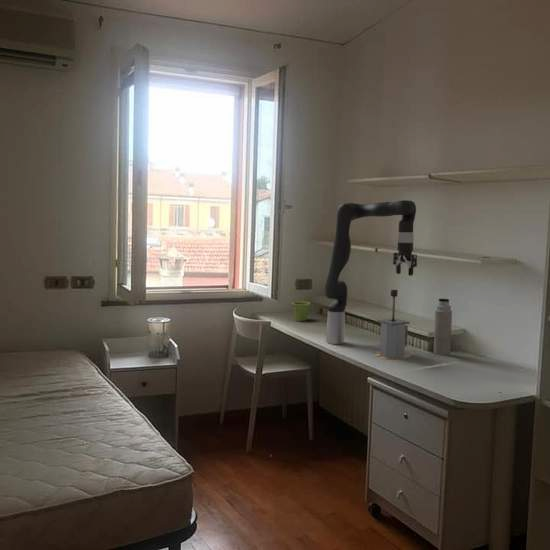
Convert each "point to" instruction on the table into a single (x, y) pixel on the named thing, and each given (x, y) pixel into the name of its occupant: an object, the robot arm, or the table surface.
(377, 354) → the trivet
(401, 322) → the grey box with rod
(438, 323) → the thermos bottle
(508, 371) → the table surface
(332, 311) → the robot arm
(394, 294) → the plunger
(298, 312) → the plant pot
